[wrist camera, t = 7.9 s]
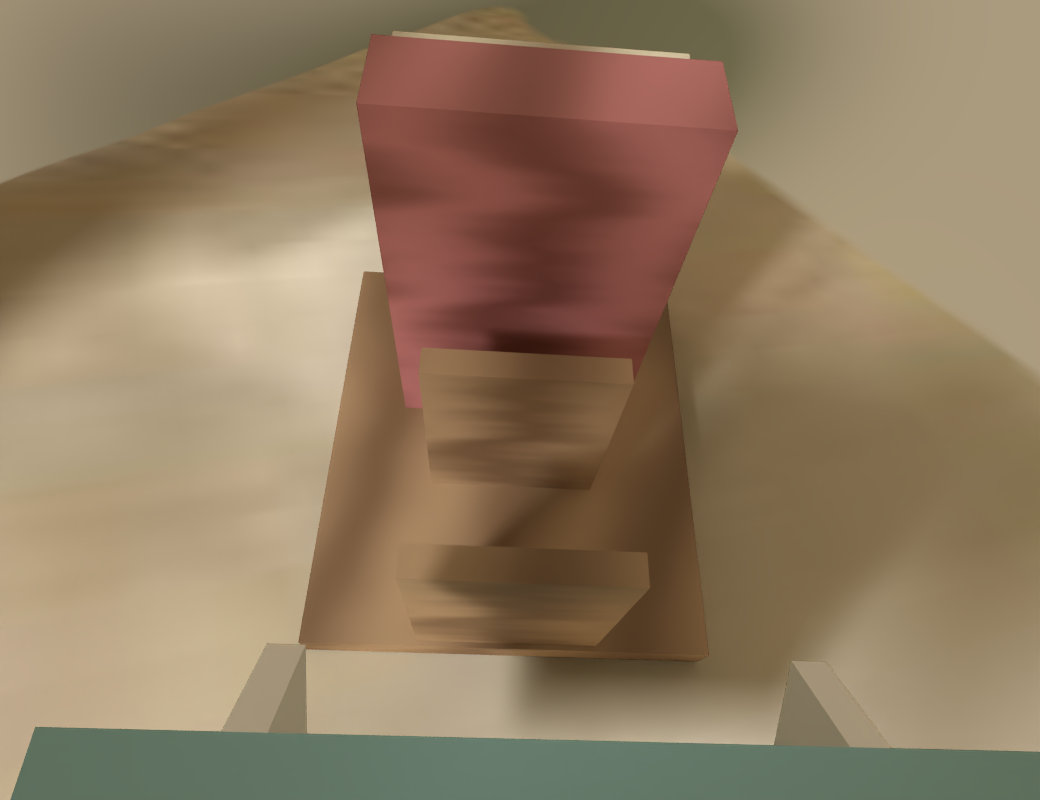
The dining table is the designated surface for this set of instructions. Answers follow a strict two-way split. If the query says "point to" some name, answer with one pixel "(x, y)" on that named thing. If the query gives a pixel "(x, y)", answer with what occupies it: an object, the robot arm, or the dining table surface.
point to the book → (496, 769)
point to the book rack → (520, 355)
